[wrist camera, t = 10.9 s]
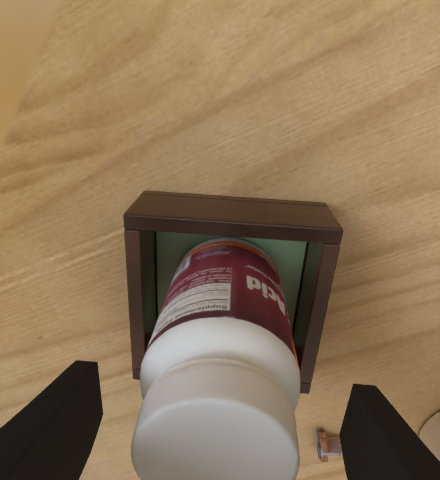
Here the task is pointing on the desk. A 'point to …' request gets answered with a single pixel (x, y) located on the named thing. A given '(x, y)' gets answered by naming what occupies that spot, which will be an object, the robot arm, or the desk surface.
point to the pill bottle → (220, 372)
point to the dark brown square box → (241, 227)
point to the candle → (432, 435)
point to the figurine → (327, 446)
